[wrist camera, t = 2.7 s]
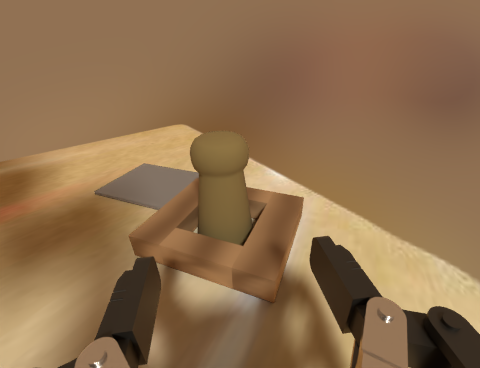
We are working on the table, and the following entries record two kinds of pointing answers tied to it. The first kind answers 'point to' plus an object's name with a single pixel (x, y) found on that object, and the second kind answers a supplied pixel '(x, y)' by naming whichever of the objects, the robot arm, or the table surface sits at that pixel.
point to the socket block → (224, 242)
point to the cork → (222, 186)
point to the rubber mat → (148, 185)
